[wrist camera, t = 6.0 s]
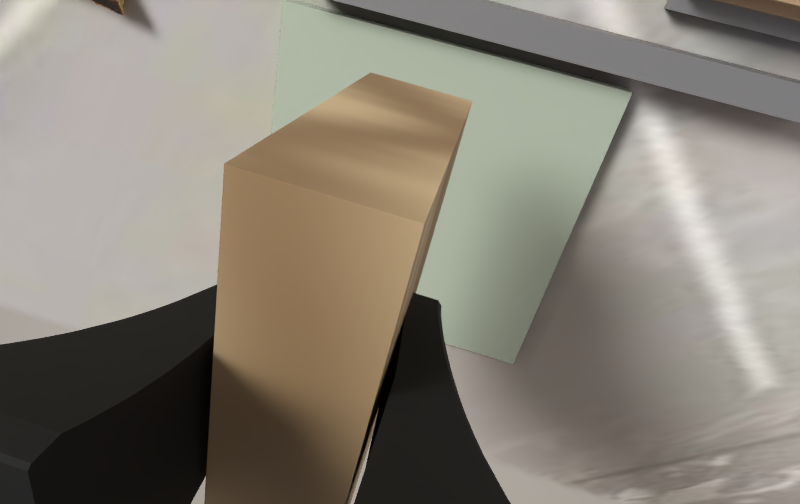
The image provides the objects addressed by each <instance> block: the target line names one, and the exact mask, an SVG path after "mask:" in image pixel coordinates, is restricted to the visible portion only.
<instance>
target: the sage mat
mask: <svg viewBox="0 0 800 504" xmlns="http://www.w3.org/2000/svg"><path fill="white" fill-rule="evenodd" d="M370 72H371V73H375V74H378V75H382V76H385V77H389V78H392V79H396V80H400V81H403V82H407V83H410V84H414V85H417V86H421V87H424V88H428V89H432V90H435V91H439V92H442V93H446V94H449V95H453V96H456V97H460V98H464V99H467V100H471V101H472V104H471V108H470V111H469V115H468V118H467V121H466V125H465V128H464V132H463V135H462V138H461V142H460V145H459V149H458V152H457V155H456V159H455V162H454V166H453V169H452V172H451V176H450V179H449V183H448V186H447V189H446V193H445V196H444V200H443V203H442V206H441V210H440V213H439V216H438V220H437V223H436V227H435V230H434V233H433V237H432V240H431V244H430V247H429V250H428V254H427V257H426V261H425V264H424V267H423V271H422V274H421V278H420V281H419V284H418V288H417V291H416V293H417V294H420V295H423V296H426V297H429V298H433V299H436V300H438V301H439V302H440V304H441V319H442V328H443V335H444V341H445V343H446V344H449V345H452V346H455V347H459V348H462V349H465V350H468V351H472V352H475V353H478V354H481V355H484V356H488V357H491V358H494V359H497V360H501V361H504V362H507V363H510V364H514V361H515V359H516V357H517V355H518V352H519V350H520V348H521V346H522V343H523V341H524V339H525V336H526V334H527V332H528V330H529V327H530V325H531V323H532V321H533V318H534V316H535V314H536V311H537V309H538V307H539V305H540V302H541V300H542V298H543V295H544V293H545V291H546V289H547V286H548V284H549V282H550V280H551V277H552V275H553V273H554V270H555V268H556V266H557V264H558V261H559V259H560V257H561V254H562V252H563V250H564V248H565V245H566V243H567V241H568V239H569V236H570V234H571V232H572V229H573V227H574V225H575V223H576V220H577V218H578V216H579V214H580V211H581V209H582V207H583V204H584V202H585V200H586V198H587V195H588V193H589V191H590V188H591V186H592V184H593V182H594V179H595V177H596V175H597V173H598V170H599V168H600V166H601V163H602V161H603V159H604V157H605V154H606V152H607V150H608V147H609V145H610V143H611V141H612V138H613V136H614V134H615V132H616V129H617V127H618V125H619V122H620V120H621V118H622V116H623V113H624V111H625V109H626V107H627V104H628V102H629V100H630V97H631V95H632V92H631V91H630V89H627V88H623V87H619V86H615V85H612V84H608V83H604V82H600V81H596V80H593V79H589V78H585V77H581V76H578V75H574V74H570V73H566V72H562V71H559V70H555V69H551V68H547V67H544V66H540V65H536V64H532V63H528V62H525V61H521V60H517V59H513V58H509V57H506V56H502V55H498V54H494V53H491V52H487V51H483V50H479V49H475V48H472V47H468V46H464V45H460V44H457V43H453V42H449V41H445V40H441V39H438V38H434V37H430V36H426V35H423V34H419V33H415V32H411V31H407V30H404V29H400V28H396V27H392V26H388V25H385V24H381V23H377V22H373V21H370V20H366V19H362V18H358V17H354V16H351V15H347V14H343V13H339V12H336V11H332V10H328V9H324V8H320V7H317V6H313V5H309V4H305V3H302V2H298V1H294V0H283V5H282V16H281V27H280V38H279V49H278V60H277V71H276V82H275V93H274V104H273V115H272V126H271V134H273V133H274V132H276V131H278V130H279V129H281V128H282V127H284V126H286V125H287V124H289V123H290V122H292V121H294V120H295V119H297V118H298V117H300V116H302V115H303V114H305V113H306V112H308V111H310V110H311V109H313V108H314V107H316V106H318V105H319V104H321V103H322V102H324V101H326V100H327V99H329V98H330V97H332V96H334V95H335V94H337V93H338V92H340V91H342V90H343V89H345V88H346V87H348V86H350V85H351V84H353V83H354V82H356V81H358V80H359V79H361V78H362V77H364V76H366V75H367V74H369V73H370Z"/></svg>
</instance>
